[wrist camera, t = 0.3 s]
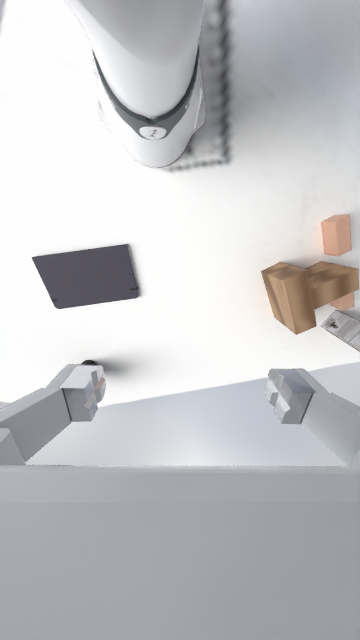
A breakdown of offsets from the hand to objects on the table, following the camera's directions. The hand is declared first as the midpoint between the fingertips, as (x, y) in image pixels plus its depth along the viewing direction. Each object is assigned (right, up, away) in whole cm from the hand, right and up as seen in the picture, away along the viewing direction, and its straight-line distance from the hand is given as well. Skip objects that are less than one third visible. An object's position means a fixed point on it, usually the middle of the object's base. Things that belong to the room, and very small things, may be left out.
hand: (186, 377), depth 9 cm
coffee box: (+48, +2, +48) cm, 68 cm away
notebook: (-22, +13, +36) cm, 44 cm away
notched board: (+40, +17, +39) cm, 58 cm away
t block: (+31, +13, +40) cm, 52 cm away
